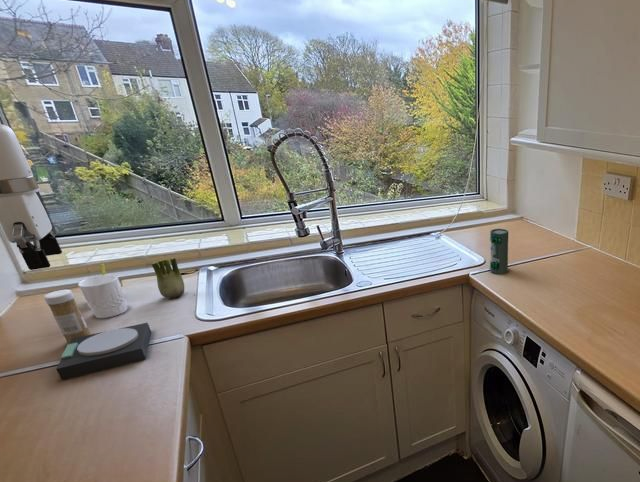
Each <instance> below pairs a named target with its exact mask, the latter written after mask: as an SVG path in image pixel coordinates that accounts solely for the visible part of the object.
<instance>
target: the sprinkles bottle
mask: <svg viewBox="0 0 640 482" xmlns="http://www.w3.org/2000/svg"><path fill="white" fill-rule="evenodd" d="M43 298H44V301H45V303H46V304H47V306H48V307H49V309H50V311H51V313H52V315H53V317H54V320H55V322H56V324H57V326H58V328H59V329H60V331H61V334H62V335H63V337H64V339H65V341H66V344H67V345H68V344H69V343H70V341H71V339H73V338H78V337H82V336H87V335H92V334H91V332H90V330H89V327H88V325H87V323H86V320H85V319H84V316H83V315H82V313H81V311H80V309H79V307H78V305H77V302H76V301H75V296H74V293H73V292H72V290H70V289H60V290H54V291H52V292H49V293H47V294H45V295H44V296H43Z"/></svg>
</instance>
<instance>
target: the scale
mask: <svg viewBox="0 0 640 482" xmlns="http://www.w3.org/2000/svg"><path fill="white" fill-rule="evenodd" d="M151 336H152V330H151V328H150V324H149V322H143V323H140V324H134V325H129V326H125V327H120V328H115V329H110V330H106V331H101V332H96V333H92V334H91V335H87V336H82V337H78V338H73V339H71V341H70V343H69V344H67V345H66V347H65V349H64V351H63V352H62V354H61V356H60V360H59V362H58V364H57V366H56V368H55V370H56V372H57V374H58V376H59V378H60V381H64V380H65V381H66V380H69V379H72V378H76V377H80V376H84V375H90V374H92V373H96V372H100V371H105V370H108V369H112V368H113V369H114V368H116V367H120V366H124V365H128V364H132V363H136V362H140V361H144V360H146V359H147V357H148V351H149V346H150V340H151Z"/></svg>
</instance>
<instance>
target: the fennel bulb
mask: <svg viewBox="0 0 640 482" xmlns="http://www.w3.org/2000/svg"><path fill="white" fill-rule="evenodd" d="M151 267H152V268H153V270H154V273H155V275H156V282H157V288H158V291H159V294H160V295H161V296H162V297H163V298H165V299H172V298H177V297H180V296H182V295H183V294H184V293H185V283H184V278H183V276H182V274H181V271H180V269H179V265H178V263H177V259H176V257H171V258H170V261H169V259H168V258H164V259H161V260H158V261H155V262H152V263H151Z"/></svg>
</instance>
